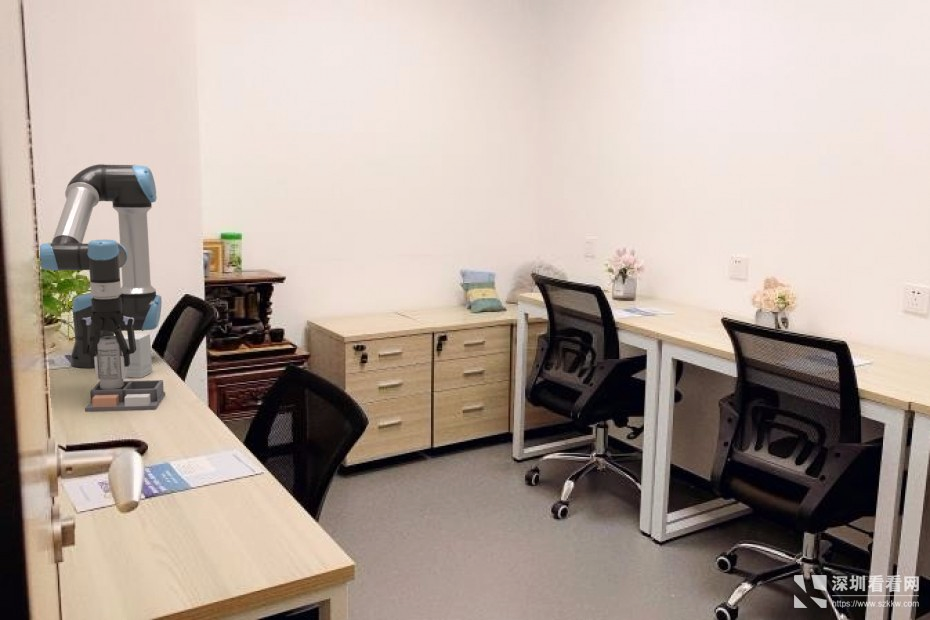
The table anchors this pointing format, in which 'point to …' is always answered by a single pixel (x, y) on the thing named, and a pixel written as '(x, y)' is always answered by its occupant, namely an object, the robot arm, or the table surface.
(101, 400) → the socket deck
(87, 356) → the robot arm
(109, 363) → the energy drink can
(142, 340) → the supplement box
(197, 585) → the table surface
